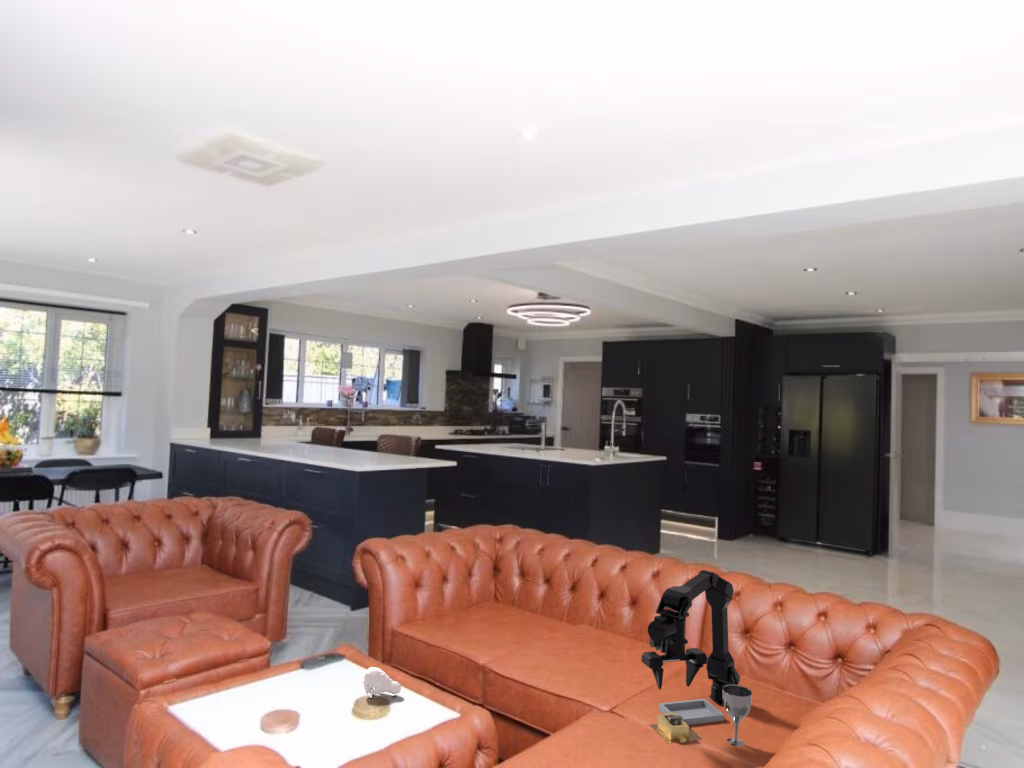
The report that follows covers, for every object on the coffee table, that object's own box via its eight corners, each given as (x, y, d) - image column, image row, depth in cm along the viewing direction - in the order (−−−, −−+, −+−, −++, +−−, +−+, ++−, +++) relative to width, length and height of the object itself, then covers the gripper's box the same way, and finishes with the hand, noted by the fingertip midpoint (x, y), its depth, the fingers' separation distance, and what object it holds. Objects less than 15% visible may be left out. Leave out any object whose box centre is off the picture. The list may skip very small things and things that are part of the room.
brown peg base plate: (682, 722, 207) (683, 706, 207) (702, 740, 196) (702, 724, 196) (649, 726, 204) (649, 710, 204) (667, 745, 193) (668, 728, 193)
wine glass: (716, 736, 199) (718, 684, 199) (743, 736, 199) (744, 684, 199) (727, 751, 191) (729, 696, 191) (755, 750, 191) (757, 696, 191)
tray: (704, 705, 218) (704, 698, 218) (724, 722, 208) (724, 714, 208) (658, 710, 214) (658, 703, 214) (676, 727, 203) (676, 720, 203)
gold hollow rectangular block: (657, 725, 203) (657, 714, 203) (675, 724, 204) (675, 712, 204) (674, 743, 193) (674, 731, 193) (692, 741, 194) (692, 729, 194)
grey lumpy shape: (368, 662, 222) (405, 668, 221) (365, 689, 222) (401, 695, 221) (362, 670, 216) (400, 676, 215) (359, 697, 216) (396, 704, 215)
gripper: (689, 622, 211) (687, 673, 211) (633, 626, 206) (632, 679, 206) (709, 635, 201) (707, 689, 201) (651, 639, 196) (649, 695, 195)
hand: (673, 687), depth 201 cm, fingers open, 9 cm apart
